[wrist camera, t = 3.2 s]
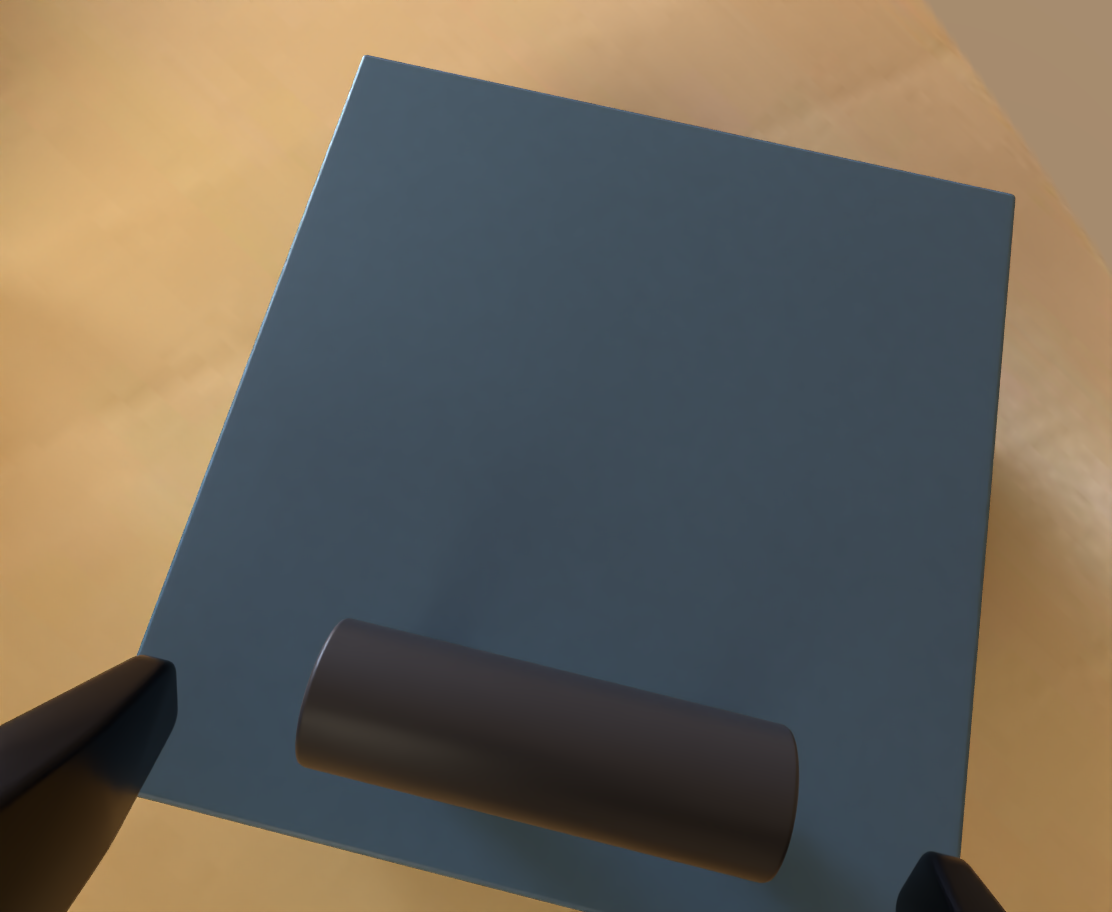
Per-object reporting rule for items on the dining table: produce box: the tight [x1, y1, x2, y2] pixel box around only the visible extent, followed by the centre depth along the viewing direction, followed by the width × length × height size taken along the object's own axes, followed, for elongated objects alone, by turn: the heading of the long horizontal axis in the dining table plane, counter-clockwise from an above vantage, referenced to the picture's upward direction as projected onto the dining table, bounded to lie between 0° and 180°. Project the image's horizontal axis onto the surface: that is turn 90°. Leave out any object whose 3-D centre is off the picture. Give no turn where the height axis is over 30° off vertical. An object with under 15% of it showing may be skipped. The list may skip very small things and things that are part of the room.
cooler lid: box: [137, 55, 1015, 912], centre depth 12 cm, size 13×12×4 cm
